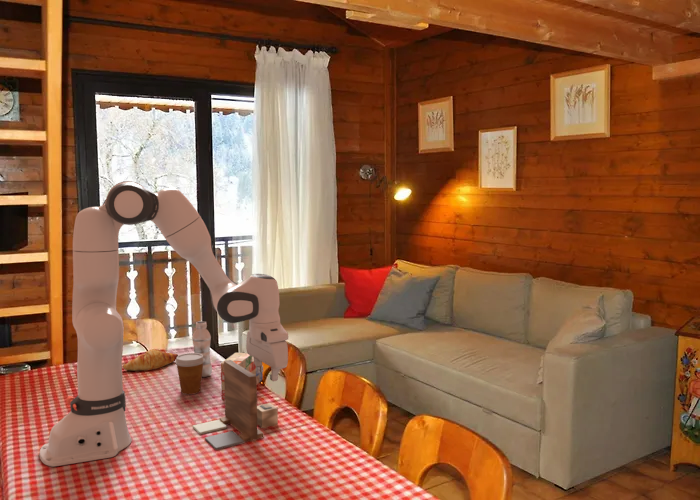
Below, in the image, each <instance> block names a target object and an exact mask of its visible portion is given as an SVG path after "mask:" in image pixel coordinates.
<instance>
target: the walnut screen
mask: <svg viewBox="0 0 700 500" xmlns="http://www.w3.org/2000/svg"><path fill="white" fill-rule="evenodd" d="M223 361H224V385H225V399H224V414H225V415H224V416H223V417H219V420H220V421H221V422H223V423H224V424H225V425H226V426H227V425H229V424H230V425H231V426H232V427H233V428H235V430H236V431H238V432H239V434H238V436H239V437H240V438H241V439H243V440H244V443H247V442H254V441H257V440H259V439H261V438H264V432H263V431H262V430H260V429H258V424H257V406H258V398H257V397H258V395H257V394H258V393H257V391H258V390H257V385H258V384H257V381H256V375H254V374H252V373H251V372H249V371H248V370H246V369H244V368H243V367H241V366H239V365H238V364H236V363H235V362H233V361H231V360H227V361H225V360H223Z"/></svg>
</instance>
